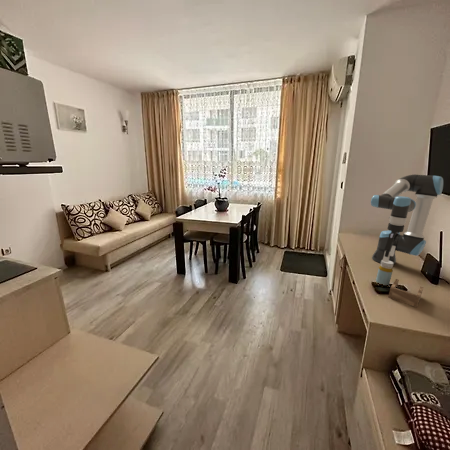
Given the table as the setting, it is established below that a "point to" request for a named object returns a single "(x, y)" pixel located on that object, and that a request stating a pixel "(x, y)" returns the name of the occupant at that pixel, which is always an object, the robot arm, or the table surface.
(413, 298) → the u rest
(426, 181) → the robot arm
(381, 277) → the bottle
